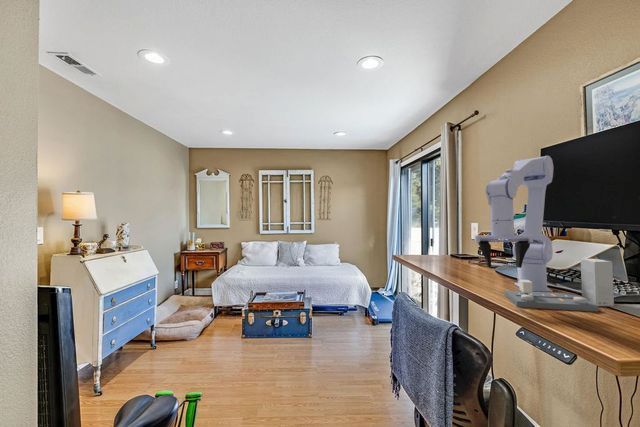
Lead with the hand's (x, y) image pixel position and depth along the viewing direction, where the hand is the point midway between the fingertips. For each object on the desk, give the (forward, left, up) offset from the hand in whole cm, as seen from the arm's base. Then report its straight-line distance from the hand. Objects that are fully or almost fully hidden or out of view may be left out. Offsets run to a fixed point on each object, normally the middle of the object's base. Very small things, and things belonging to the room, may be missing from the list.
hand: (503, 266), depth 86 cm
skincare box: (-2, +23, -10) cm, 25 cm away
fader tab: (0, +5, -8) cm, 10 cm away
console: (0, +10, -10) cm, 14 cm away
